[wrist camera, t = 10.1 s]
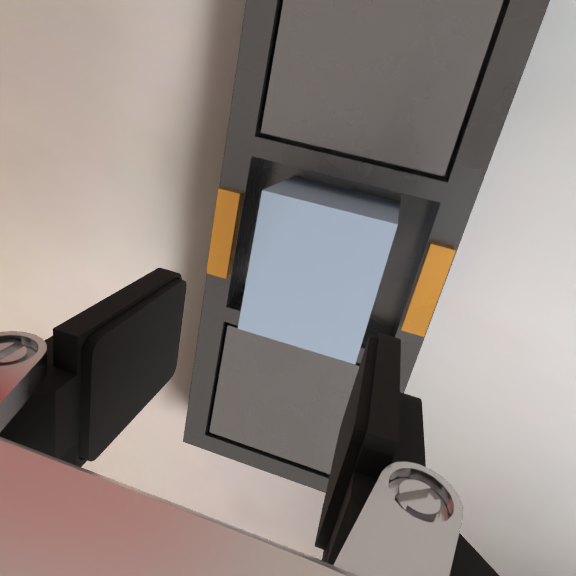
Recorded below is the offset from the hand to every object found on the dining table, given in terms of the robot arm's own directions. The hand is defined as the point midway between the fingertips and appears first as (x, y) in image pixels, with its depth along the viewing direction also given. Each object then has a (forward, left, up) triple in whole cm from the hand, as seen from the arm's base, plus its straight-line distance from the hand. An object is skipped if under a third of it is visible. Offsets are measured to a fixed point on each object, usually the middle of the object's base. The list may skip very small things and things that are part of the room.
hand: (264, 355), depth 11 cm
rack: (0, 0, -11) cm, 11 cm away
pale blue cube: (0, 0, -11) cm, 11 cm away
